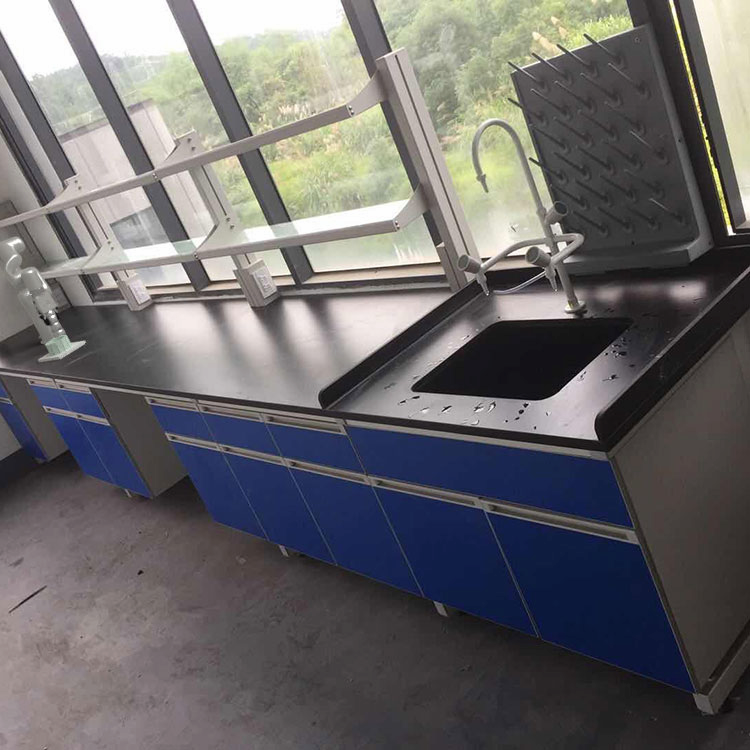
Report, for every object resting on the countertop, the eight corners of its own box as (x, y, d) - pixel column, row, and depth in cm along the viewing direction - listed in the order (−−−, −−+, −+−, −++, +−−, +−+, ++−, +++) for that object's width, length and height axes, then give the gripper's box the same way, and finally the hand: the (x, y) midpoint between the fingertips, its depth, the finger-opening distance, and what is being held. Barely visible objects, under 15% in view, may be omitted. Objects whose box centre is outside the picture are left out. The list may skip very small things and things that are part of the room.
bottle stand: (39, 362, 414) (32, 349, 411) (65, 346, 427) (58, 334, 425) (60, 359, 404) (52, 346, 401) (86, 343, 417) (79, 330, 415)
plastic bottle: (55, 342, 429) (37, 308, 422) (56, 338, 435) (39, 305, 428) (66, 337, 430) (49, 304, 422) (68, 334, 436) (50, 301, 429)
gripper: (29, 298, 414) (45, 329, 421) (54, 284, 427) (69, 315, 433) (20, 299, 418) (36, 330, 425) (45, 286, 431) (61, 316, 438)
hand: (53, 322), depth 429 cm, fingers closed on plastic bottle, 6 cm apart
